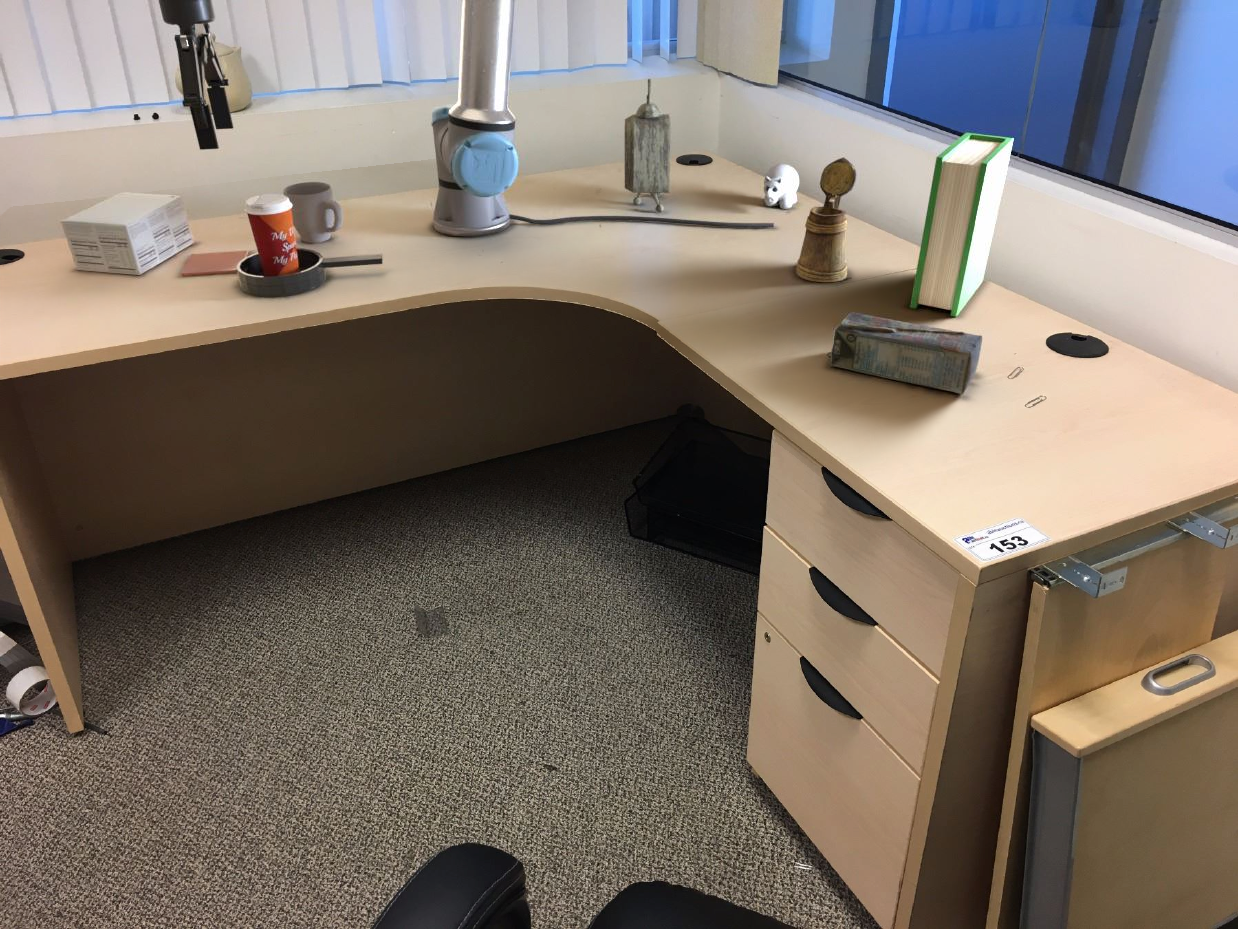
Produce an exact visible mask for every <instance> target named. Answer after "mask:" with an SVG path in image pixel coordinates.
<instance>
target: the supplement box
mask: <svg viewBox="0 0 1238 929" xmlns="http://www.w3.org/2000/svg"><path fill="white" fill-rule="evenodd" d="M189 222H190V221H189V218H188V215H187V210H186V207H185V203H184V200H183V196H181V195H174V194H159V193H158V194H156V193H141V192H140V193H139V192H127V191H124V192H122V191H121V192H119V193H116V194H115V195H112V196H110V197H108V198H106V199H104V200H102V201H100V202H98V203H95V204H94V205H91V206H90V207H87V208H85V209H83V210H81V211H79V212H77V213H74V214H72V215H70V216H68V217H66V218H63V219H61V220H60V224H61V227H62V230H63V232H64V235H65V238H66V241H67V245H68V248H69V250H70V253H71V256H72V259H73V262H74V264H75V268H76V270H77V271H85V272H86V271H87V272H98V273H108V274H110V273H111V274H120V275H121V274H123V275H133V276H141V275H143V274H144V273H146V272H148V271H149V270H151V269H152V268H154V267H156V266H157V265H159V264H161V263H163V262H165V261H166V260H168V259H169V258H171V257H173V256H174V255H176V254H178V253H179V252H181V251H183V250H184V249H186V248H188V247H189V246H191V245H193V244H194V243H195V240H194V236H193V233H192V229H191V226H190V223H189Z"/></svg>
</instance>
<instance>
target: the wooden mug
mask: <svg viewBox="0 0 1238 929" xmlns="http://www.w3.org/2000/svg"><path fill="white" fill-rule="evenodd" d="M856 182H857V171H856V168H855V166H854V165H853V163H852V162H850V161H849V160H848V159H847V158H846V157H840V158H838V159H836V160H834V161H832V162H830V163H829V164H827V165H826V166H825V167H824V168H823V171H822V173H821V175H820V181H819V186H820V189H821V191H822V192H823V194H824V195H825V199H824V204H823V206H814V207H811V208H810V209H809V210H810V211H809V214H808V216H807V217H806V221H805V226H804V227H805V232H804V233H805V234H804V238H803V242H802V245H801V250H800V254H799V257H798V259H797V262H796V270H795V271H796V272H795V273H796V275H797V276H798V277H800V278H802V279H803V280H807V281H810V282H816V283H835V282H840V281H843V280H844V279H846V278H847V276H848V264H847V260H846V258H847V257H846V254H847V253H846V252H847V251H846V229H847V228H848V219H847V216H846V213H847V212H846V210H844V209H841V208H839V207H840V203H841V198H842V197H843V196H846V195H847V194H848V193H850V192H852V190H853V189H854V187H855V185H856Z"/></svg>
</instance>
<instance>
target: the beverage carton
mask: <svg viewBox="0 0 1238 929" xmlns="http://www.w3.org/2000/svg"><path fill="white" fill-rule="evenodd" d="M982 343H983V335H981V334H980V335H978V334H973V333H969V332H964V331H956V330H952V329H944V328H939V327H934V326H929V325H923V324H916V323H911V322H907V321H906V322H905V321H900V320H896V319H891V318H886V317H885V318H884V317H879V316H874V315H869V314H864V313H861V312H860V313H859V312H855V311H851V312H850V313H848V315H847V316H846V317H845V318H844V319H843V320H842V321H841V322H840V323H839V324H838V325H837V327H835V329H834V331H833V342H832V347H831V353H830V366H831V367H836V368H841V369H844V370H849V371H854V372H858V373H861V374H866V375H869V376H870V375H871V376H876V377H880V378H884V379H889V380H895V381H899V382H905V383H910V384H914V385H920V386H924V387H928V388H933V389H939V390H942V391H947V392H952V393H955V394H959V395H963V394H964V393H965V391H966V390H967V388H968V386H969V384H970V383H971V381H972V380H973V378H974V376H975V375H976V372H977V368H978V365H979V362H980V355H981V351H982Z"/></svg>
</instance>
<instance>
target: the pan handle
mask: <svg viewBox="0 0 1238 929" xmlns="http://www.w3.org/2000/svg"><path fill="white" fill-rule="evenodd" d="M383 260H384V258H383V254H382V253H378V254H363V255H350V256H349V255H348V256H334V257H323V268H325V269H330V268H344V267H345V268H346V267H359V266H361V267H362V266H373V265H375V266H376V265H383V262H384V261H383Z"/></svg>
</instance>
